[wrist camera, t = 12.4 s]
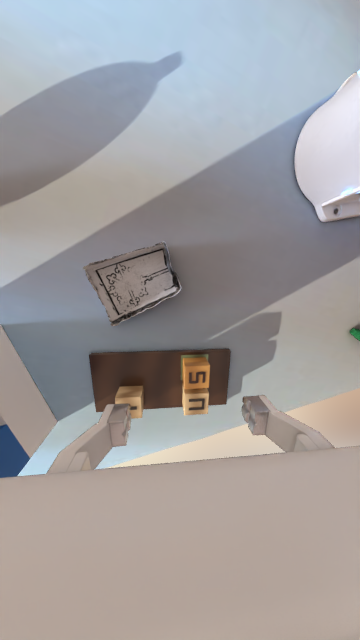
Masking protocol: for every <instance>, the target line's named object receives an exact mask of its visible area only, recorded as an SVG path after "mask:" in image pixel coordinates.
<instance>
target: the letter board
mask: <svg viewBox="0 0 360 640" xmlns="http://www.w3.org/2000/svg"><path fill="white" fill-rule="evenodd" d="M230 354H231V351H230V350H229V349H207V350H172V351H137V352H101V353H91V354H90V355H89V359H90V367H91V375H92V383H93V391H94V399H95V407H96V412H103V411H104V409H105V407H106V406H107V405H108V404H128V403H129V404H130V407H131V409H130V413H131V418H142V414H143V409H155V408H172V407H183V410H184V415H194V414H208V405H222V404H226V400H227V388H228V377H229V365H230ZM200 357H206V359H207V361H208V363H209V364H210V376H209V388H196V389H184V385H183V379H182V371H183V358H200Z"/></svg>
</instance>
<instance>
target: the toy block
mask: <svg viewBox="0 0 360 640" xmlns="http://www.w3.org/2000/svg"><path fill="white" fill-rule="evenodd" d="M56 423H57V420H56V418H55V417H54V415H53V413H52V412H51V410H50V408H49V407H48V405H47V403H46V401H45V400H44V398H43V396H42V395H41V393H40V391H39V389H38V388H37V386H36V384H35V383H34V381H33V379H32V377H31V376H30V374H29V372H28V371H27V369H26V367H25V365H24V364H23V362H22V360H21V359H20V357H19V355H18V354H17V352H16V350H15V348H14V347H13V345H12V343H11V342H10V340H9V338H8V336H7V335H6V333H5V331H4V330H3V328H2V326H1V324H0V478H6V477H17V475H18V474H19V473H20V471H21V470H22V469H23V467H24V466H25V465H26V463H27V462H28V461H29V459H30V458H31V457H32V455H33V454H34V453H35V451H36V450H37V449H38V447H39V446H40V445H41V443H42V442H43V441H44V439H45V438H46V437H47V435H48V434H49V433H50V431H51V430H52V429H53V427H54V426H55V425H56Z"/></svg>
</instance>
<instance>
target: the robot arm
mask: <svg viewBox="0 0 360 640" xmlns="http://www.w3.org/2000/svg"><path fill="white" fill-rule="evenodd" d="M295 173H296V178H297V181H298V184H299V187H300V189H301V190H302V192H303V193H304V195H305V196H306V197H307V198H308V199H309V200H310V201H311V202H312V204H313V205H314V207H315V210H316V213H317V215H318V218H319V219H320V221H322V222H329V221H334V220H340V219H345V218H351V217H356V216H360V70H359V71H358V72H357V73H354V74H352V75H351V76H350V77H349V78H348V79H347V80H346V81H345V82H344V83H343V84H342V85H341V86H340V88H339V89H338V91H337V92H336V94H335V95H334V96H333V97H332V98H331V99H330V100H328V101H327V102H326V103H324V104H323V105H322V106H321V107H319V108H318V109H317V110H316V111H315V112H314V113H313V114H312V115H311V116H310V118H309V119H308V120H307V122H306V123H305V125H304V127H303V129H302V131H301V133H300V136H299V139H298V142H297V146H296V151H295ZM243 403H244V405H243V406H242V415H243V418H244V420H245V421H246V422H247V423H249V424H248V427H249V429H250V431H251V432H252V434H253V435H266V436H267V437H268V438H269V439H271V440H272V441H273V442H274V443H275V444H276V445H278V446H279V447H280V448H281V449H283V450H284V451H285V453H274V454H263V455H253V456H241V457H229V458H219V459H207V460H196V461H185V462H174V463H164V464H151V465H140V466H129V467H118V468H107V469H96V470H94V469H95V468H96V467H97V466H98V464H99V463H100V462H101V461H102V460H103V458H104V457H105V456H106V455H107V453H108V452H109V451H110V450H111V449H112V447H116V446H125V445H126V443H127V439H128V431H129V430H130V427H131V413H130V409H131V407H130V404H129V403H128V404H108V405H107V406H106V407H105V409H104V411H103V414H102V416H101V418H100V420H99V422H98V424H95V425H93V426H92V427H91V428H90V429H88V430H87V431H86V432H85V433H83V434H82V435H81V436H80V437H78V438H77V439H76V440H75V441H73V442H72V443H71V444H70V445H68V446H67V447H66V448H65V449H63V450H62V451H61V452H60V453H59V454H58V456H57V457H56V459H55V460H54V462H53V464H52V465H51V467H50V469H49V470H48V472H47V473H46V474H39V475H28V476H17V477H6V478H0V640H360V446H353V447H341V448H335V447H333V446H332V444H331V443H330V442H328V440H327V439H326V438H324V436H323V435H322V434H321V433H320V432H318V431H316V430H314V429H313V428H311V427H309V426H307V425H305V424H303V423H301V422H300V421H298V420H296V419H294V418H292V417H290V416H288V415H287V414H285V413H283V412H281V411H278V410H277V409H276V408H275V407H274V406H273V404H272V403H271V402H270V401H269V400H268V399H267V397H266V396H265V395H257V396H245V397H243Z"/></svg>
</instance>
